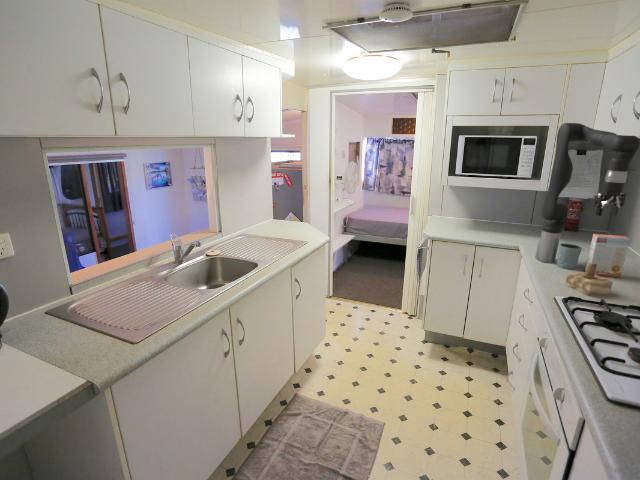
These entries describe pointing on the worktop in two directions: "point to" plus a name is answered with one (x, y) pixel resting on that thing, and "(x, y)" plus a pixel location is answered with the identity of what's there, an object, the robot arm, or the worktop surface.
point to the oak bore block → (588, 284)
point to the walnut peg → (591, 271)
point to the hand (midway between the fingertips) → (605, 215)
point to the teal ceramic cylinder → (568, 256)
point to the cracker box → (608, 254)
